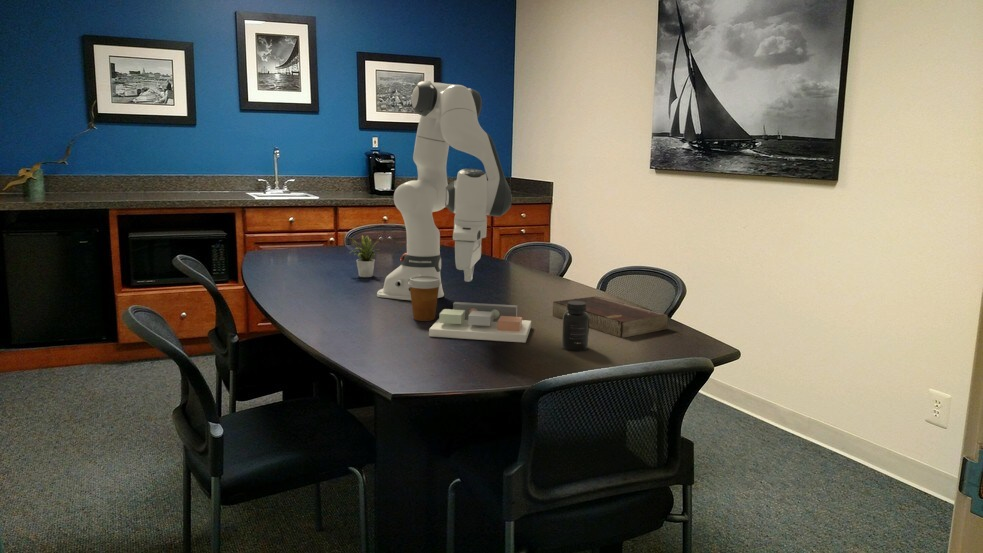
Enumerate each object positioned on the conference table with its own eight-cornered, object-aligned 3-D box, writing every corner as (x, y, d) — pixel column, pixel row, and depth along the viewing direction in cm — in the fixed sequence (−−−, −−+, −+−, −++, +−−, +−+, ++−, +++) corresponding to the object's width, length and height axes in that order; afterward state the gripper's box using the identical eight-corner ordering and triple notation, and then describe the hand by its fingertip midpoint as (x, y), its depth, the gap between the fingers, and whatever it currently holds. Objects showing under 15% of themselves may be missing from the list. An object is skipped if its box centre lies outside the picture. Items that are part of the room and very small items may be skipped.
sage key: (439, 322, 193) (439, 313, 193) (443, 317, 199) (444, 308, 199) (460, 324, 192) (461, 315, 192) (465, 318, 198) (465, 310, 198)
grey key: (468, 324, 192) (468, 315, 192) (472, 319, 198) (472, 310, 198) (490, 325, 191) (490, 316, 191) (493, 320, 197) (493, 311, 197)
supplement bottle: (559, 344, 186) (561, 299, 184) (584, 344, 187) (587, 299, 185) (564, 351, 180) (566, 305, 177) (590, 351, 180) (593, 305, 178)
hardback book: (667, 330, 205) (668, 313, 204) (621, 339, 194) (622, 322, 193) (596, 310, 228) (597, 295, 227) (552, 317, 217) (553, 301, 216)
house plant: (341, 273, 278) (340, 231, 275) (375, 271, 284) (375, 230, 281) (350, 279, 266) (349, 236, 263) (386, 277, 271) (385, 235, 268)
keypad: (429, 336, 191) (429, 312, 190) (441, 322, 206) (442, 300, 205) (525, 342, 187) (526, 318, 186) (531, 327, 203) (531, 305, 201)
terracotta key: (497, 329, 191) (497, 320, 191) (500, 324, 197) (500, 315, 197) (519, 331, 190) (519, 322, 190) (521, 325, 196) (522, 317, 196)
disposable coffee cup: (415, 323, 204) (415, 282, 202) (403, 316, 212) (403, 276, 210) (445, 320, 208) (445, 280, 206) (432, 313, 216) (433, 274, 214)
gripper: (465, 225, 201) (463, 273, 204) (451, 234, 181) (449, 287, 184) (487, 226, 200) (485, 274, 203) (475, 235, 181) (473, 288, 183)
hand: (468, 280), depth 193 cm, fingers closed
